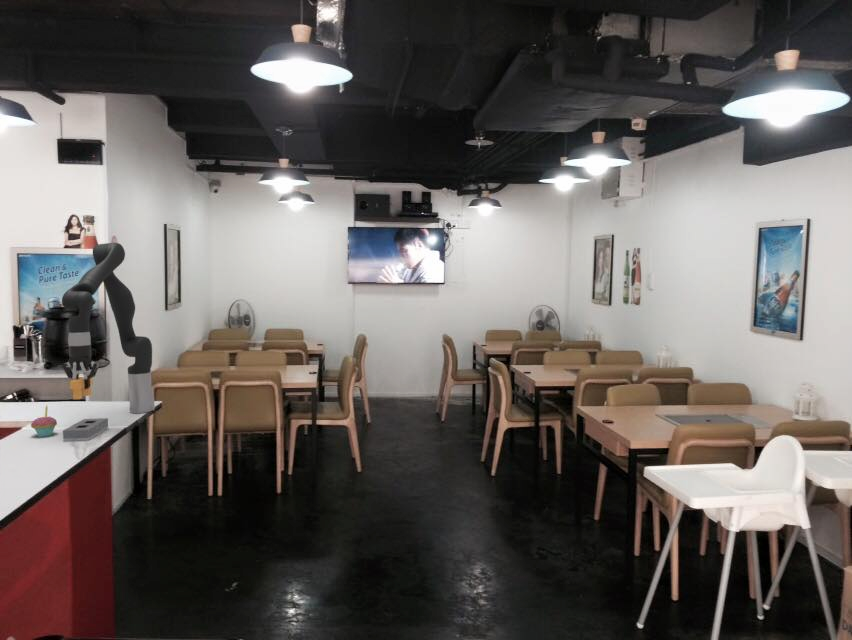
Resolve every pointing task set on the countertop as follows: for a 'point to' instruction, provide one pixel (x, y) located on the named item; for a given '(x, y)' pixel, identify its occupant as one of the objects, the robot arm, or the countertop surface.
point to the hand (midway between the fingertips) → (82, 388)
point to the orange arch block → (80, 388)
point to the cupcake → (44, 425)
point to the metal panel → (85, 429)
